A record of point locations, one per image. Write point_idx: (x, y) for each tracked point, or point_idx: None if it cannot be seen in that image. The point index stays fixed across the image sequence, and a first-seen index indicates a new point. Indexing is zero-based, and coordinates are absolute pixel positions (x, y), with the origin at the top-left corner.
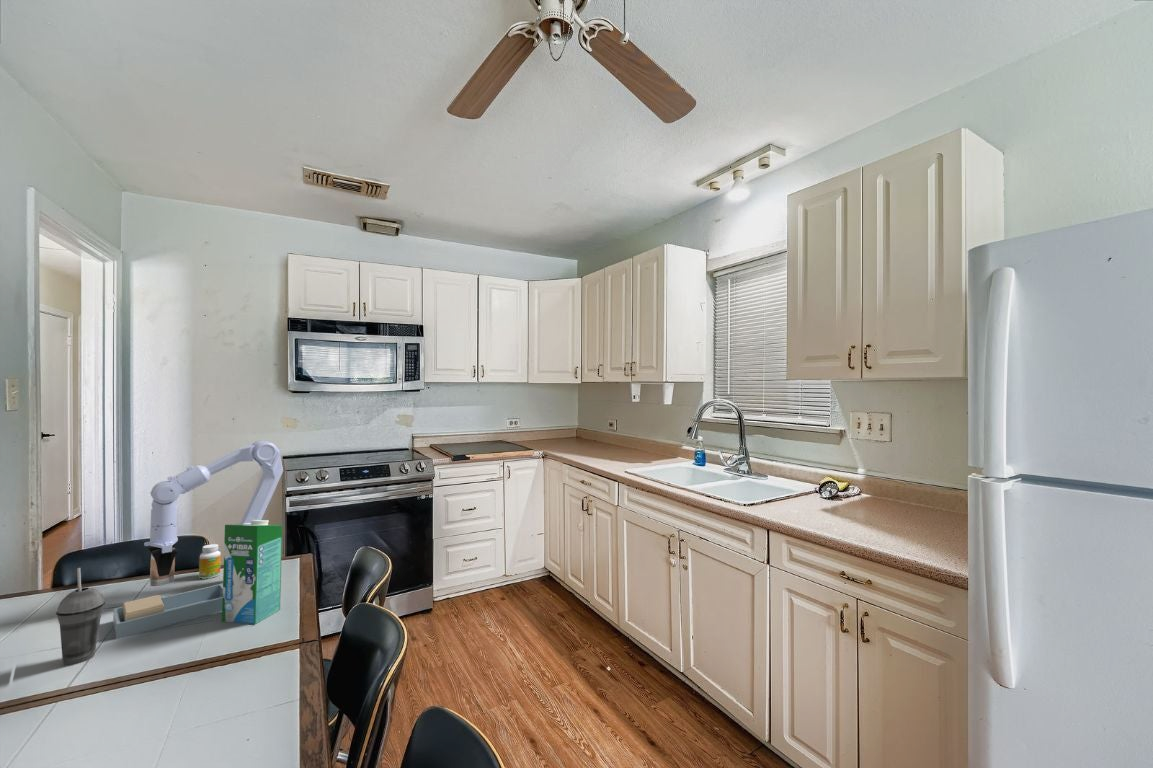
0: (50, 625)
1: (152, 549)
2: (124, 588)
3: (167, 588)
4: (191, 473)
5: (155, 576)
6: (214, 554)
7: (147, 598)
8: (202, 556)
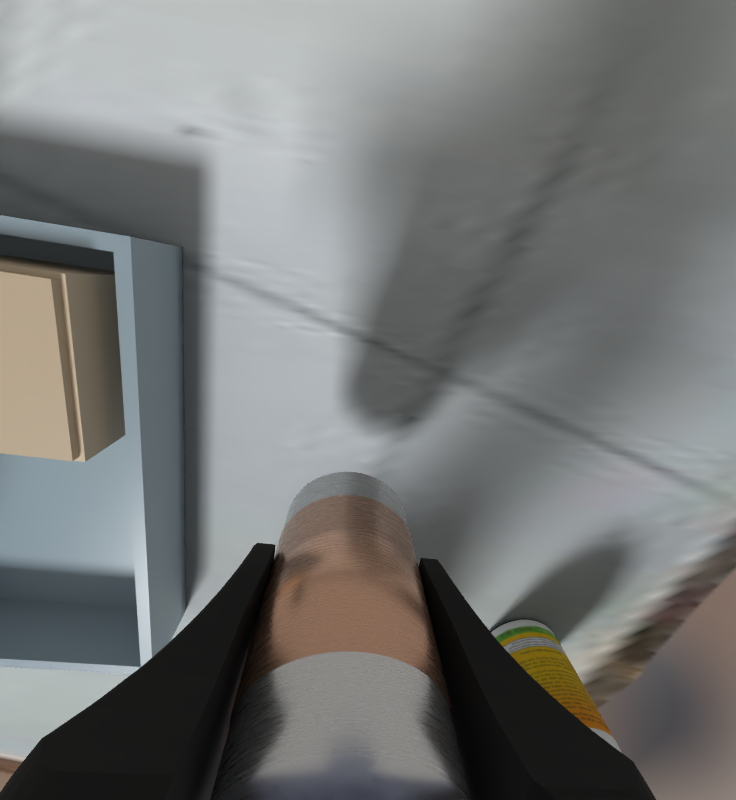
0: (472, 3)
1: (517, 791)
2: (722, 405)
3: (520, 518)
4: None
5: (296, 529)
6: None
7: (38, 401)
8: None
